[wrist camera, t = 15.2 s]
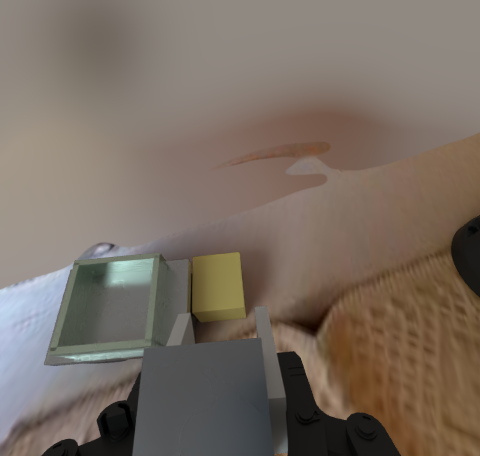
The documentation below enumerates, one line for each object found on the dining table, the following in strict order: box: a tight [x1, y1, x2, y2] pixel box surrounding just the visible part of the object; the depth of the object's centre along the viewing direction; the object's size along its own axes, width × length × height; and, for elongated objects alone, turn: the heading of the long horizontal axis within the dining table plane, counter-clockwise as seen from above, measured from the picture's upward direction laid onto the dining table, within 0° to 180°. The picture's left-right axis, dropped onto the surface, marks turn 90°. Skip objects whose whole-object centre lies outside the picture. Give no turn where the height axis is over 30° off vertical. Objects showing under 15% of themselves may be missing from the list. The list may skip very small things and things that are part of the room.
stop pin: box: [132, 338, 274, 456], centre depth 12 cm, size 4×4×11 cm
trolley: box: [44, 253, 196, 366], centre depth 30 cm, size 14×10×11 cm
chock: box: [192, 252, 246, 322], centre depth 34 cm, size 6×7×6 cm
